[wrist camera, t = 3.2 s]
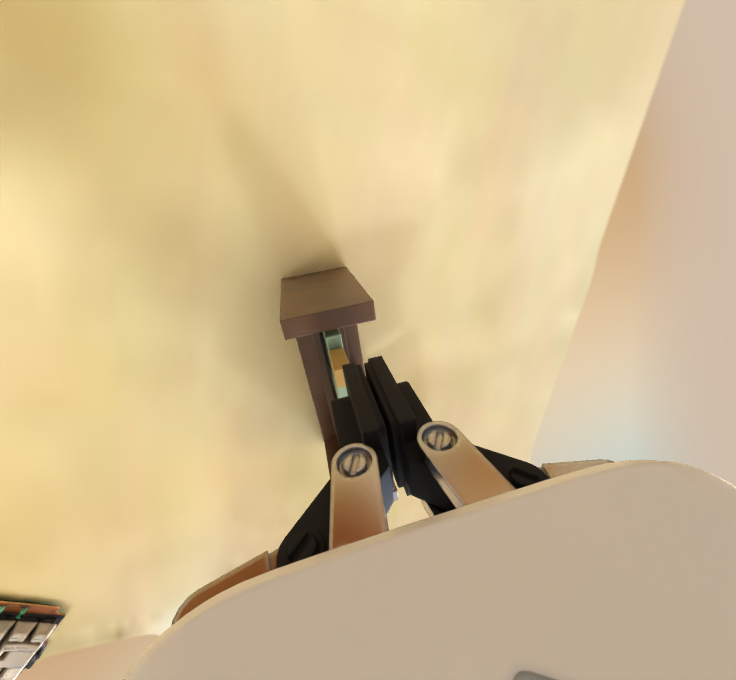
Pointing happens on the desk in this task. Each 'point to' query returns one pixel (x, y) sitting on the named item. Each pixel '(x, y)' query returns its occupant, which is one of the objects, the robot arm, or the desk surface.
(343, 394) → the sliding pane
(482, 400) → the desk surface
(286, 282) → the window frame
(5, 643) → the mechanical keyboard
